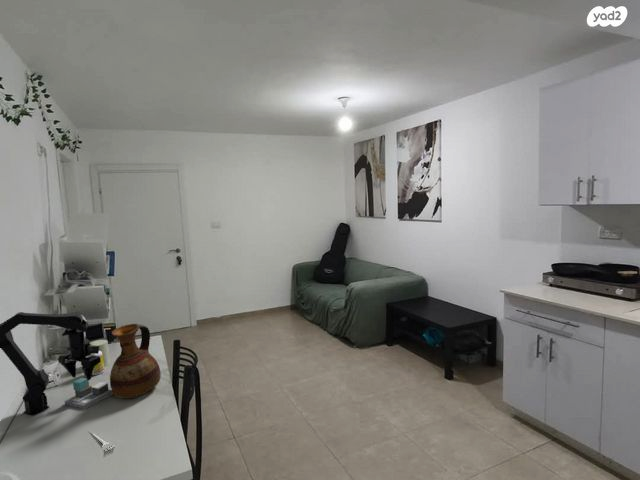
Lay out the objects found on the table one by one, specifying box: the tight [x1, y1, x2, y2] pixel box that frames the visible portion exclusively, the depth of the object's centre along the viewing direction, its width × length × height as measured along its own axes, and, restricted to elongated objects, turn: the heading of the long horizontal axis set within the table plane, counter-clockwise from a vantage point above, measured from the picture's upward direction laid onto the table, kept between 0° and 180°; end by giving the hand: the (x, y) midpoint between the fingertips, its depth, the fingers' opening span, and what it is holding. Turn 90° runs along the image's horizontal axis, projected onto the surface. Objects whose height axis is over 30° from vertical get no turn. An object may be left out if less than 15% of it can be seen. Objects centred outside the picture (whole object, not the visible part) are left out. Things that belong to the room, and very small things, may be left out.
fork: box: [93, 433, 116, 452], centre depth 133 cm, size 3×20×2 cm, turn 51°
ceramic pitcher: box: [109, 323, 162, 399], centre depth 167 cm, size 20×20×30 cm
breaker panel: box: [64, 389, 114, 410], centre depth 163 cm, size 13×12×2 cm
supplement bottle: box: [86, 351, 105, 376], centre depth 189 cm, size 7×7×13 cm
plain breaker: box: [91, 381, 110, 396], centre depth 164 cm, size 4×4×3 cm
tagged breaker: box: [74, 384, 92, 398], centre depth 163 cm, size 4×4×3 cm
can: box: [89, 339, 111, 367], centre depth 199 cm, size 9×9×12 cm
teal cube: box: [72, 377, 90, 391], centre depth 162 cm, size 4×4×4 cm
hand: (81, 378), depth 162 cm, fingers open, 9 cm apart
